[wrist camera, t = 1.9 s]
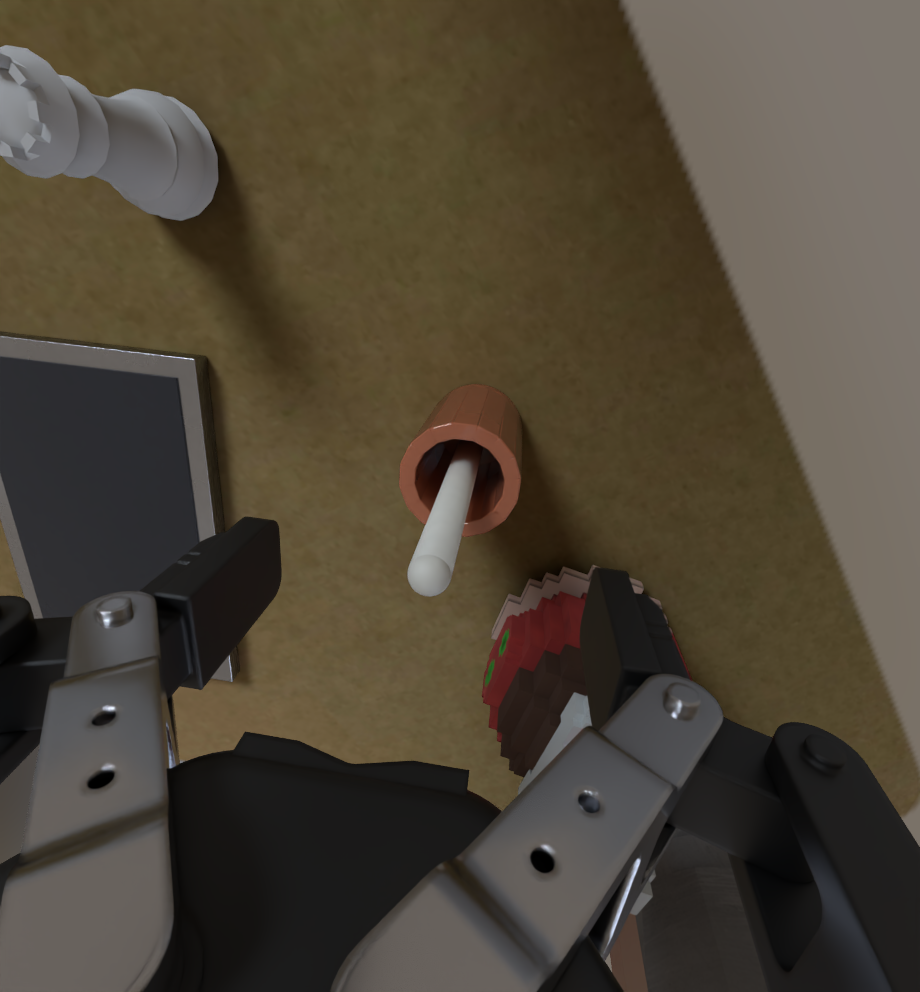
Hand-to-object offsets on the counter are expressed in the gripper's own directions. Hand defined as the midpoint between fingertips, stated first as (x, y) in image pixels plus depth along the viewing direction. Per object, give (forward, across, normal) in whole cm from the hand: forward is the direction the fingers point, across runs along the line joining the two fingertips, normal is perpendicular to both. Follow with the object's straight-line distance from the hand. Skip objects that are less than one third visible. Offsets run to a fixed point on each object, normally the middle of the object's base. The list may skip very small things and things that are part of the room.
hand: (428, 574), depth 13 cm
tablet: (+13, +20, +8) cm, 25 cm away
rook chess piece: (+13, +14, -10) cm, 22 cm away
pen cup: (+13, 0, 0) cm, 13 cm away
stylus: (+12, 0, 0) cm, 13 cm away
